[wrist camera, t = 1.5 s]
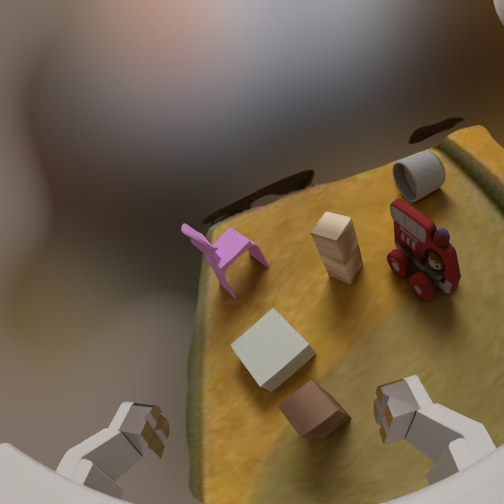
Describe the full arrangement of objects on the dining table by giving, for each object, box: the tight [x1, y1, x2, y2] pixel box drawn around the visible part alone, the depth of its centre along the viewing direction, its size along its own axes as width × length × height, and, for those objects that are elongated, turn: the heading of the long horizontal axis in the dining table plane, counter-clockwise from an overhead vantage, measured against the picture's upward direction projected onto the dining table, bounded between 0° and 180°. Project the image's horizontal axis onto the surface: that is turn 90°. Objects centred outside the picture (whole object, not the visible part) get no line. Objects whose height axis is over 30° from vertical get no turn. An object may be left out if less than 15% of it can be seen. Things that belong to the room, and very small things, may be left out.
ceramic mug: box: [393, 151, 445, 202], centre depth 40 cm, size 11×8×8 cm
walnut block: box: [278, 379, 351, 438], centre depth 24 cm, size 4×4×10 cm
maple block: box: [310, 212, 363, 285], centre depth 37 cm, size 4×4×10 cm
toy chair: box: [181, 224, 270, 300], centre depth 44 cm, size 8×9×15 cm
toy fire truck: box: [387, 199, 461, 302], centre depth 30 cm, size 7×12×10 cm, turn 21°
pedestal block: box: [231, 308, 316, 392], centre depth 35 cm, size 8×8×4 cm
